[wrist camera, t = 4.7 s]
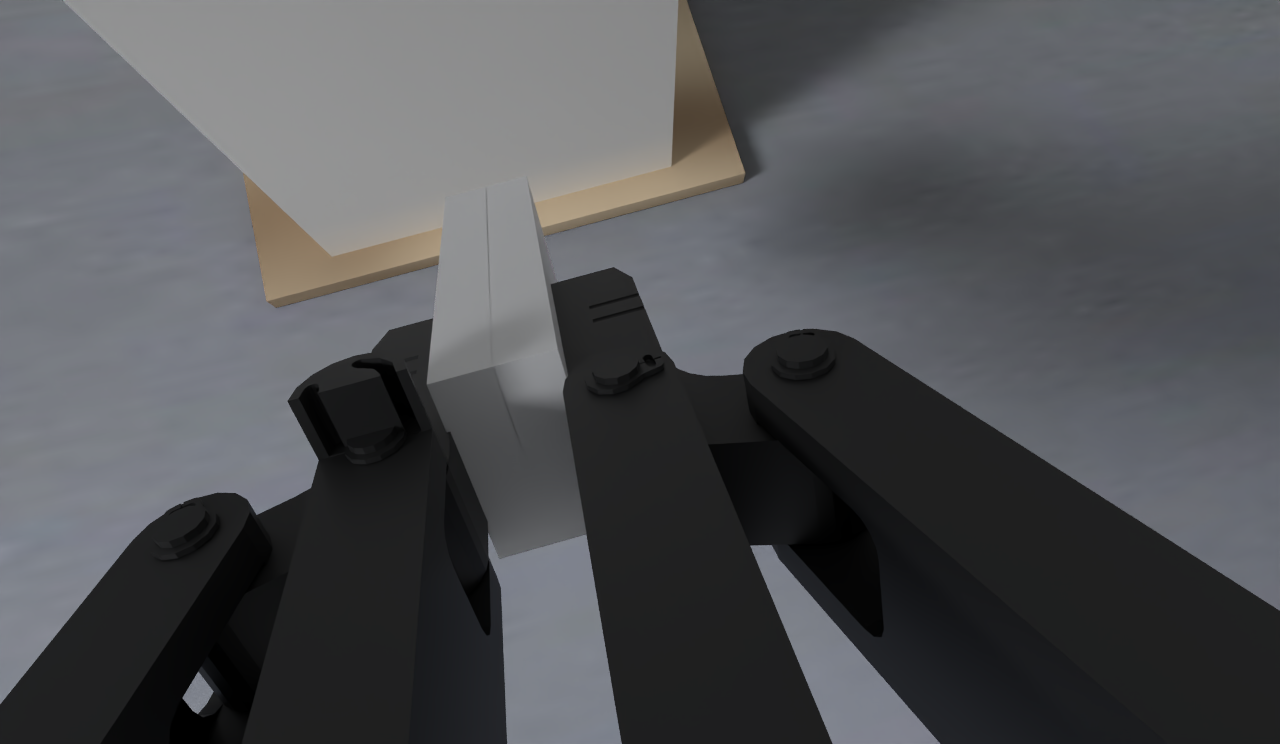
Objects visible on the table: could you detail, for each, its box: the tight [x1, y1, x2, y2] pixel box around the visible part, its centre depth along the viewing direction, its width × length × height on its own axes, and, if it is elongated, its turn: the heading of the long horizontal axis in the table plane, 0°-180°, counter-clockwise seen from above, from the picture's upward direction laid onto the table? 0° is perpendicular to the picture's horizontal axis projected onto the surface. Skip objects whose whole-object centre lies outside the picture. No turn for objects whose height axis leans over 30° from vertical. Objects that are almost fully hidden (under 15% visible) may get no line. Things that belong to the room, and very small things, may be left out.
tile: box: [63, 0, 678, 257], centre depth 17 cm, size 2×10×14 cm, turn 105°
